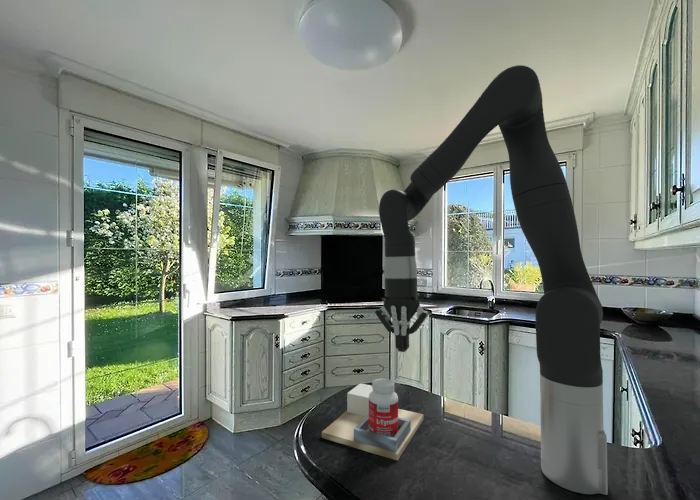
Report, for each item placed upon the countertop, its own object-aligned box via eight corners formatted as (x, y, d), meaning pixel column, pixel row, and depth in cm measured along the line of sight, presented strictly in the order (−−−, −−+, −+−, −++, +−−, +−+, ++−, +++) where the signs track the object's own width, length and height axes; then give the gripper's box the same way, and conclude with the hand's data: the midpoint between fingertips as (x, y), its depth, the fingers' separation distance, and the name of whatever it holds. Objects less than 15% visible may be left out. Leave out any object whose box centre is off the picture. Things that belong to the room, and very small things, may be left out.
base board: (423, 419, 79) (423, 403, 79) (397, 460, 63) (397, 440, 63) (359, 404, 87) (359, 390, 87) (321, 437, 71) (321, 420, 71)
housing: (385, 406, 83) (385, 388, 83) (373, 418, 77) (373, 398, 77) (360, 400, 86) (360, 383, 86) (347, 411, 80) (347, 393, 80)
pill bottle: (374, 445, 66) (374, 389, 66) (364, 430, 71) (364, 378, 72) (403, 440, 67) (403, 385, 68) (390, 426, 73) (390, 375, 73)
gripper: (432, 275, 78) (434, 350, 77) (380, 275, 84) (382, 344, 83) (424, 277, 71) (426, 358, 71) (368, 276, 77) (369, 351, 77)
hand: (402, 350), depth 77 cm, fingers closed
